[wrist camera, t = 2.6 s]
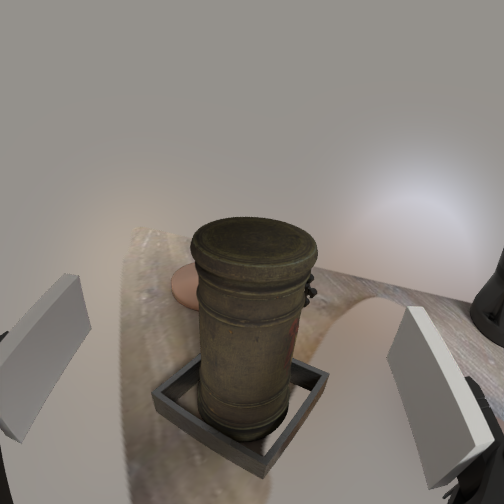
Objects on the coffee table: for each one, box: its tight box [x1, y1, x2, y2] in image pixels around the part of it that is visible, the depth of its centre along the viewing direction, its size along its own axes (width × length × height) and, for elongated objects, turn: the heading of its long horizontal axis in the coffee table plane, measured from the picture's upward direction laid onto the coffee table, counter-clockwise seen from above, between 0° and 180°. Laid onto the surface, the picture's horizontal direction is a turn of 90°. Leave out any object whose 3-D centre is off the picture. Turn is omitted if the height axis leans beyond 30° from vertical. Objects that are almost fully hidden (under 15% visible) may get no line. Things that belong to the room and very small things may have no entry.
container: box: [190, 217, 318, 441], centre depth 25 cm, size 9×9×18 cm
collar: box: [151, 353, 329, 479], centre depth 28 cm, size 12×12×3 cm
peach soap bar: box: [171, 263, 199, 311], centre depth 48 cm, size 12×12×2 cm
